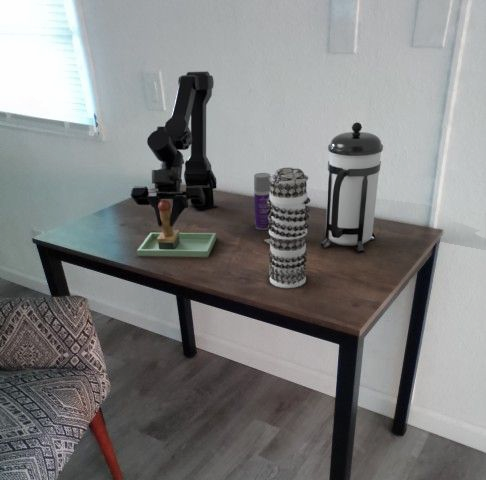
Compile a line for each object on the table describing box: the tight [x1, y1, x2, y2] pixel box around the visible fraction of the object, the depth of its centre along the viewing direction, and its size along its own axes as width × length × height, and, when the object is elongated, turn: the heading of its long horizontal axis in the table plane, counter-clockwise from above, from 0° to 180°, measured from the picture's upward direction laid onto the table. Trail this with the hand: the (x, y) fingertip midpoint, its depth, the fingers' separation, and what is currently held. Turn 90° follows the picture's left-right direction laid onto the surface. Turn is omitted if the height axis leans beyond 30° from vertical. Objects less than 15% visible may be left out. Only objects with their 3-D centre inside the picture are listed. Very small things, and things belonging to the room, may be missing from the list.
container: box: [253, 172, 271, 231], centre depth 138 cm, size 5×5×15 cm
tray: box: [136, 232, 217, 258], centre depth 131 cm, size 19×12×2 cm, turn 82°
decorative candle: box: [266, 167, 311, 289], centre depth 107 cm, size 9×9×25 cm
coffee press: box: [320, 121, 384, 254], centre depth 120 cm, size 17×16×30 cm
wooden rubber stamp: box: [157, 199, 181, 250], centre depth 128 cm, size 4×6×13 cm
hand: (165, 226), depth 127 cm, fingers closed on wooden rubber stamp, 3 cm apart
